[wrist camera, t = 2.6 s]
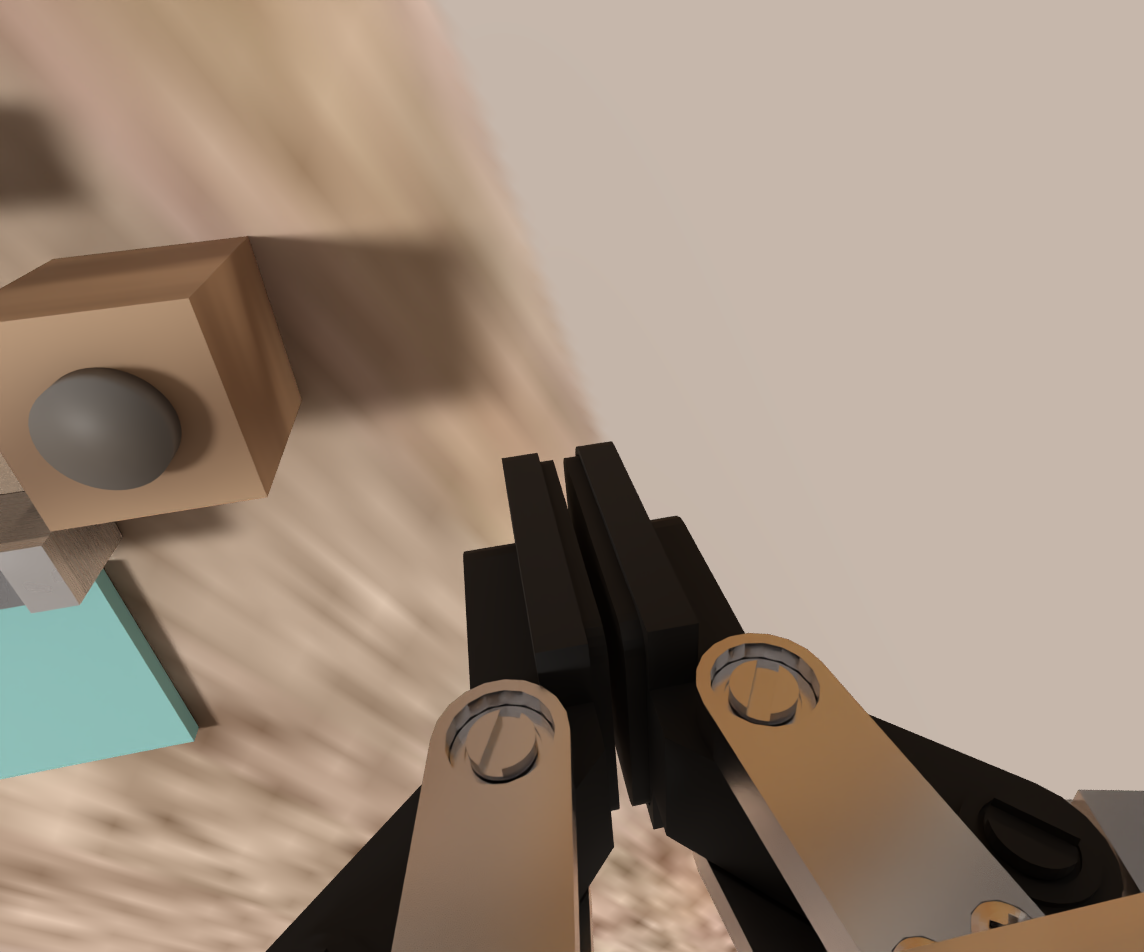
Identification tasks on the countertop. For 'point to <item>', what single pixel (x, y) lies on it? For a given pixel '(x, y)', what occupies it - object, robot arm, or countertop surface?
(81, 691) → the pad
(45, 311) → the wooden knob block
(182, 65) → the countertop surface
